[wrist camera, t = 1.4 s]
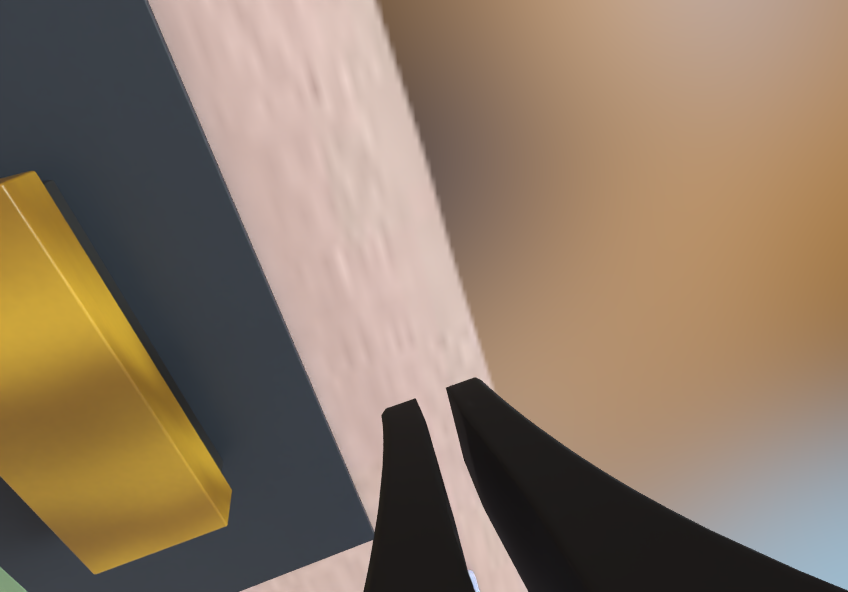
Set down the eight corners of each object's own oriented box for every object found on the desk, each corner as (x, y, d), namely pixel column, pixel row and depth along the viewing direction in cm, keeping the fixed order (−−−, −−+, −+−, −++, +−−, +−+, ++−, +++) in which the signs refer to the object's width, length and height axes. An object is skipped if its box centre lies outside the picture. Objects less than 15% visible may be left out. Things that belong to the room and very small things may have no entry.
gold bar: (236, 465, 18) (228, 526, 16) (120, 506, 18) (93, 576, 15) (56, 160, 13) (1, 183, 10) (-123, 207, 12) (-226, 241, 10)
